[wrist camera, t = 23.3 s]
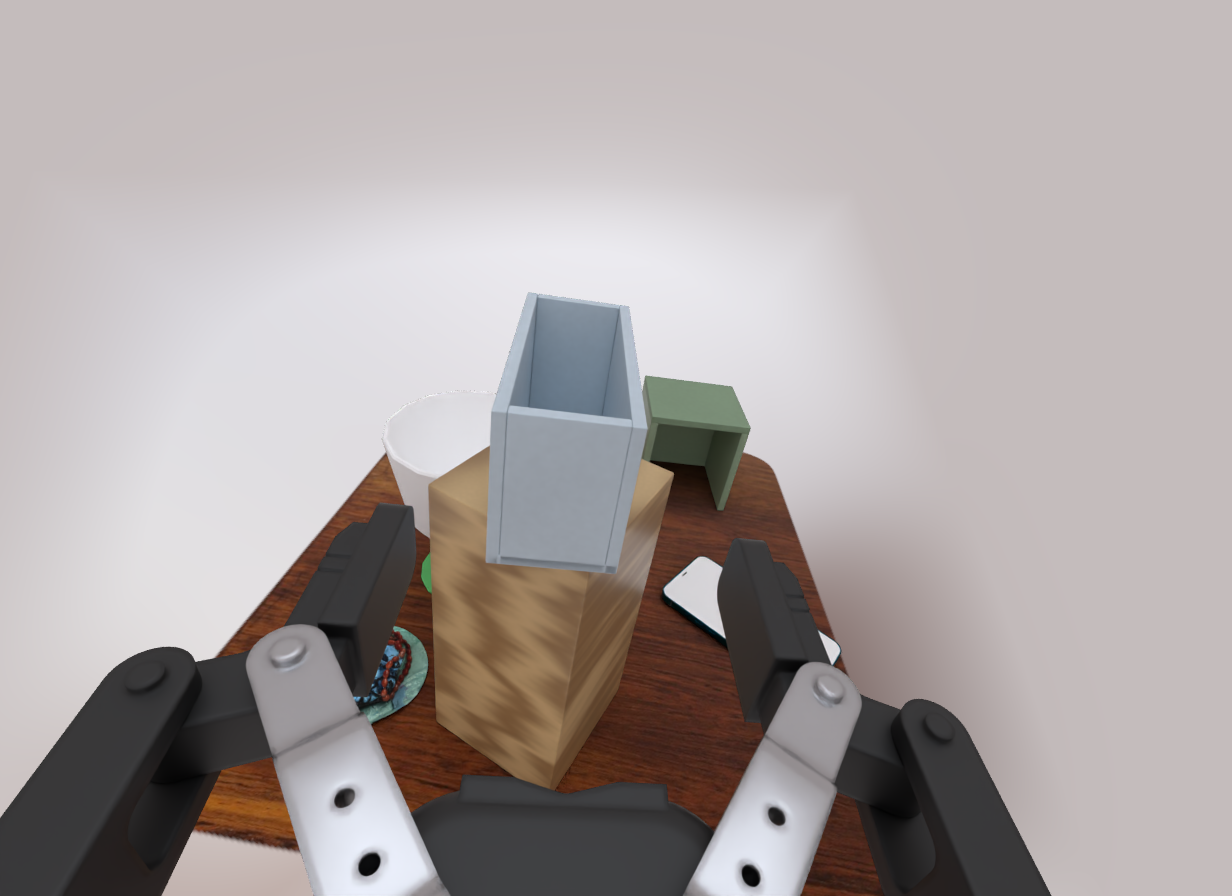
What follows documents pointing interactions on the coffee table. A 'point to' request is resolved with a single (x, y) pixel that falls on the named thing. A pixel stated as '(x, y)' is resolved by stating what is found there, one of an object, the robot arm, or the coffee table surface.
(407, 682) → the dish
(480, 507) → the stand
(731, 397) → the cabinet
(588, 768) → the coffee table surface
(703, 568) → the smartphone
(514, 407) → the bin
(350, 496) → the coffee table surface
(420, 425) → the cup
